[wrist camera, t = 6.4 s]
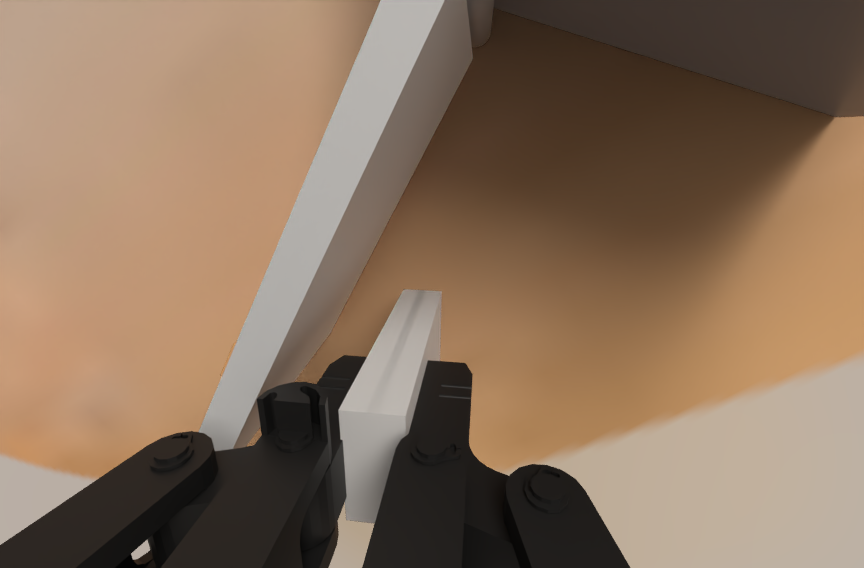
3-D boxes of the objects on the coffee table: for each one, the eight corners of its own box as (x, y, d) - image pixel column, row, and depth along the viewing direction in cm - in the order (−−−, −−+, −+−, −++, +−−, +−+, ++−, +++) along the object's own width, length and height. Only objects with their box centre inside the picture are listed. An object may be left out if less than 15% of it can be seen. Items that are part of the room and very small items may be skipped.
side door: (444, -12, 13) (388, -234, 5) (497, 21, 13) (523, -145, 5) (295, 306, 17) (139, 454, 9) (336, 328, 18) (216, 492, 10)
